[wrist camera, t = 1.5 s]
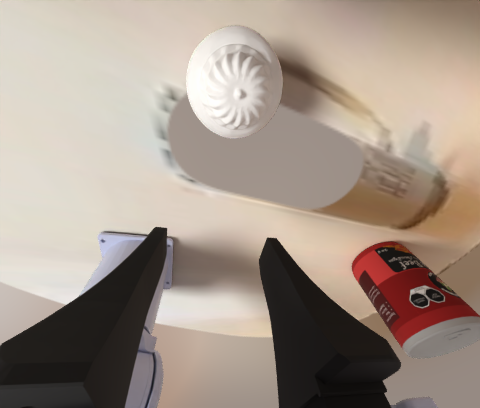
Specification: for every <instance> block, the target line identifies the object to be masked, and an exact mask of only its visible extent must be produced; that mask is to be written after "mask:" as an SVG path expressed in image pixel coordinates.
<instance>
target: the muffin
mask: <svg viewBox="0 0 480 408" xmlns="http://www.w3.org/2000/svg"><path fill="white" fill-rule="evenodd" d="M186 86H187V94H188V98H189V101H190V104H191V106H192V109H193V111H194V112H195V114H196V116H197V117H198V119H200V121H201V122H202V123H203V124H204V125H205V126H206V127H207V128H208V129H209V130H211V131H212V132H214V133H216V134H217V135H219V136H222V137H225V138H231V139H238V138H243V137H247V136H250V135H252V134H254V133H256V132H258V131H259V130H261V129H262V128H263V127H264V126H265V125H266V124H267V123H268V122H269V121H270V120H271V118H272V117H273V116H274V114H275V112H276V110H277V108H278V106H279V103H280V100H281V96H282V89H283V77H282V70H281V66H280V63H279V60H278V58H277V55H276V53H275V52H274V50H273V49H272V47H271V46H270V44H269V43H268V42H267V41H266V40H265V39H264V38H263V37H262V36H261V35H260V34H259V33H257V32H256V31H254V30H252V29H250V28H248V27H245V26H237V25H235V26H227V27H224V28H221V29H218V30H216V31H214V32H213V33H211V34H210V35H208V36H207V37H206V38H204V39H203V40H202V41H201V42H200V44H199V45H198V46H197V47H196V49H195V51H194V52H193V54H192V56H191V59H190V62H189V65H188V70H187V77H186Z"/></svg>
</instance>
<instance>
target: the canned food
mask: <svg viewBox="0 0 480 408" xmlns="http://www.w3.org/2000/svg"><path fill="white" fill-rule="evenodd" d="M352 271H353V274H354V277H355V278H356V280H357V281H358V283H359V284H360V286H361V287H362V289H363V290H364V292H365V293H366V295H367V296H368V298H369V299H370V301H371V302H372V304H373V305H374V307H375V309H376V310H377V312H378V313H379V315H380V316H381V317H382V319H383V321H384V322H385V324H386V325H387V327H388V328H389V330H390V331H391V333H392V334H393V336H394V337H395V339H396V340H397V341H398V343H399V344H400V346H401V347H402V349H403V350H404V351H405V352H406V354H407V355H408V356H409V357H412V358H431V357H436V356H441V355H444V354H448V353H451V352H454V351H457V350H459V349H462V348H464V347H467V346H469V345H471V344H473V343H475V342H476V341H478V340H479V339H480V316H479V315H478V314H477V313H476V312H475V311H474V310H473V309H472V308H471V307H470V306H469V305H468V304H467V303H466V302H464V301H463V300H462V299H461V298H460V297H459V296H458V295H457V294H456V293H455V292H454V291H453V290H451V289H450V288H449V287H448V286H447V285H446V284H445V283H444V282H442V280H441V279H440V278H438V277H437V276H436V275H435V274H434V273H433V272H432V271H431V270H430V269H429V268H428V267H427V266H425V265H424V264H423V263H422V262H421V261H420V260H419V259H418V258H417V257H416V256H415V255H413V254H412V253H411V252H410V251H409V250H408V249H407V248H406V247H404V246H402V245H400V244H398V243H396V242H383V243H379V244H376V245H373V246H371V247H369V248H367V249H365V250H364V251H363V252H361V253H360V254H359V255H358V256H357V257H356V258H355V260H354V262H353V264H352Z"/></svg>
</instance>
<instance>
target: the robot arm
mask: <svg viewBox="0 0 480 408" xmlns="http://www.w3.org/2000/svg"><path fill="white" fill-rule="evenodd" d="M98 241H99V245H100V250H101V254H102V260H101V262H100V263H99V265H98V266H97V268H96V270H95V271H94V273H93V274H92V276H91V278H90V279H89V281H88V282H87V284H86V286H85V287H84V289H83V290H82V292H81V294H80V295H79V297H78V298H76V299H75V300H73V301H72V302H70V303H69V304H67V305H66V306H64V307H62V308H61V309H59V310H58V311H56V312H55V313H53V314H52V315H50V316H49V317H47V318H45V319H44V320H42V321H40V322H39V323H37V324H35V325H34V326H32V327H30V328H28V329H27V330H25V331H23V332H22V333H20V334H18V335H16V336H15V337H13V338H11V339H10V340H8V341H6V342H4V343H2V345H1V346H0V408H157V405H158V402H159V398H160V394H161V390H162V384H163V365H162V358H161V355H160V353H159V352H158V351H155V350H154V348H155V344H156V339H157V338H156V337H154V336H152V335H151V333H152V331H153V327H154V324H155V320H156V316H157V312H158V308H159V304H160V300H161V296H162V293H163V289H170V288H171V287H172V266H173V240H172V239H171V238H167V228H161V227H155V228H154V229H153V230H152V231H151V232H150V234H149V235H148V236H140V235H129V234H117V233H105V232H101V233H99V235H98ZM259 266H260V275H261V280H262V284H263V289H264V293H265V297H266V301H267V306H268V310H269V315H270V320H271V327H272V335H273V342H274V351H275V361H276V372H277V384H278V396H279V397H278V398H279V408H438V407H437V406H436V404H435V403H434V401H433V399H432V398H430V397H419V398H409V399H405V400H402V401H400V402H398V403H396V405H390V404H389V402H388V400H387V398H386V396H385V394H384V393H385V392H387V389H386V387H385V385H384V383H383V380H384V379H386V378H388V377H389V376H391V375H392V374H394V373H395V372H397V371H398V370H399V369H400V367H401V362H400V360H399V359H398V357H397V356H396V354H395V353H394V351H393V349H392V348H391V346H390V345H389V343H388V341H387V340H386V339H384V338H383V337H381V336H380V335H378V334H377V333H375V332H374V331H372V330H371V329H369V328H368V327H366V326H365V325H363V324H362V323H360V322H359V321H358V320H357V319H355V318H354V317H353V316H351V315H350V314H349V313H347V312H346V311H345V310H344V309H342V308H341V307H340V306H339V305H338V304H336V303H335V302H334V301H333V300H332V299H330V298H329V297H328V296H327V295H326V294H325V293H324V292H323V291H322V290H321V289H320V288H319V287H318V286H317V285H316V284H315V283H314V282H313V281H312V280H311V279H310V278H309V277H308V276H307V275H306V274H305V273H304V272H303V271H302V269H301V268H300V267H299V266H298V265H297V264H296V262H295V261H294V260H293V259H292V257H291V256H290V255H289V254H288V252H287V251H286V250H285V249H284V247H283V246H282V245H281V243H280V242H279V241H278V240H277V238H267V240H266V242H265V245H264V248H263V250H262V253H261V256H260V258H259Z"/></svg>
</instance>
